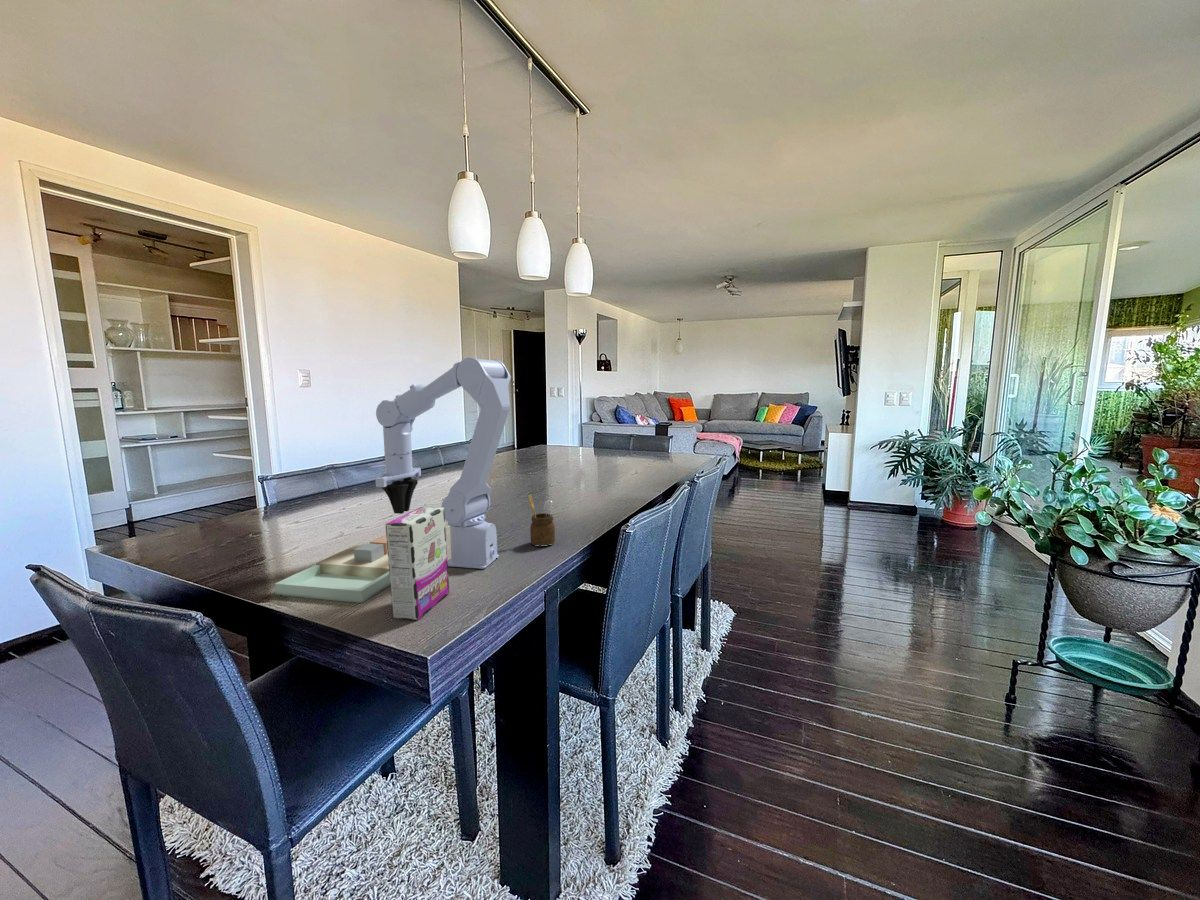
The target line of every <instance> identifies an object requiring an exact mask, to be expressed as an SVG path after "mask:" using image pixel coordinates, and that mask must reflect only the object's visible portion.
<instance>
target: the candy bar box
mask: <svg viewBox="0 0 1200 900" xmlns="http://www.w3.org/2000/svg"><path fill="white" fill-rule="evenodd" d="M385 533H386V534H385V535H386V536H385V537H387V550H388V563H389V574H390V586H389V587H390V597H391V599H390V600H391V613H392V618H393V619H395V620H396V619H397V620H411V621H412V620H413V621H419V620H420V619H421V618H422V617H423V615H424V616H425V615H426V614H428V612H429V611H431V609H433V608H434V607H435V606H436V605H438V603H440V602H441V601H443V599H444V598H446V597H447V595H448V594H450V581H449V566H448V564H447V561H448V551H447V535H446V533H447V532H446V520H445V515H444V508H441V506H440V507H438V506H420V507H418V508H416V509H414V510H412V511H408V513H405V514H403V515H401V516H399V517H396V518H395V519H393V520H390V521H388V522H386V523H385Z"/></svg>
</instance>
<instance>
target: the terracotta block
mask: <svg viewBox="0 0 1200 900" xmlns="http://www.w3.org/2000/svg"><path fill="white" fill-rule="evenodd" d="M369 544H383V546H384V554H388V550H387V537H386V536H380V537H379V536H378V537H377V538H375V539H373V540H371V541H369Z"/></svg>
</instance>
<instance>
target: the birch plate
mask: <svg viewBox="0 0 1200 900" xmlns="http://www.w3.org/2000/svg"><path fill="white" fill-rule="evenodd" d="M364 544H365V543H357V544H355V545H353V546H351V547H348V548H346V549H344V550H342V551H340V552H337V553H335V554H333V555H331V556H328V557H326V558H324V559H321V560H320V561H318V562H315V565H320V569H321V573H322V574H334V575H347V576H359V577H372V578H379V577H380V576H382V575H384V574H385V573H387V572H389V563H388V554H384V556H383V557H381V558H379V559H377V560H375V561H374V562H359V561H355V560H354V549H356V548H358V547H360V546H362V545H364Z"/></svg>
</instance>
